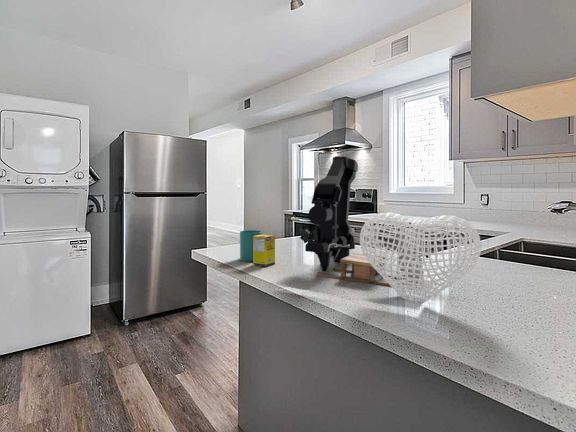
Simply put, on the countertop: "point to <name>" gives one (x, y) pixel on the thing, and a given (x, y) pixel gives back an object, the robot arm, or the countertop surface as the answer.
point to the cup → (247, 244)
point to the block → (362, 271)
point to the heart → (415, 224)
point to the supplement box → (264, 250)
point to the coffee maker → (413, 251)
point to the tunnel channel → (354, 260)
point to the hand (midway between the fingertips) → (326, 270)
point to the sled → (330, 271)
